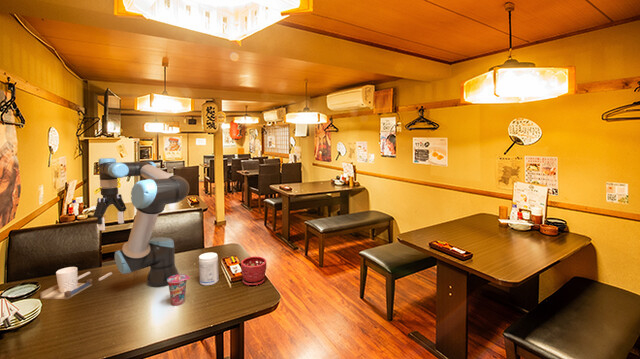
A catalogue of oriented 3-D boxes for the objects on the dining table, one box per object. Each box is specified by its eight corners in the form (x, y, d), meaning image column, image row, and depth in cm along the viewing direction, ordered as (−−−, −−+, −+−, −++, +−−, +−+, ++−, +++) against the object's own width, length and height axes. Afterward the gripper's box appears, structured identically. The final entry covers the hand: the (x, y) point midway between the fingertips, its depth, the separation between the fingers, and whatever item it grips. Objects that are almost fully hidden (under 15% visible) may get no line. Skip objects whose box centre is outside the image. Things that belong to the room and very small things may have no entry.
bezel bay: (92, 284, 148) (92, 279, 147) (68, 299, 134) (67, 292, 134) (68, 284, 148) (67, 278, 148) (40, 298, 134) (40, 291, 134)
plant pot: (236, 285, 149) (235, 263, 148) (251, 275, 161) (251, 254, 160) (257, 290, 144) (257, 267, 143) (271, 279, 156) (271, 258, 155)
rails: (112, 274, 161) (112, 272, 161) (100, 280, 153) (100, 278, 153) (88, 273, 161) (88, 271, 161) (75, 279, 153) (75, 278, 153)
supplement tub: (208, 276, 159) (207, 251, 157) (222, 279, 156) (221, 253, 154) (195, 284, 150) (194, 257, 148) (210, 287, 147) (209, 259, 145)
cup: (168, 309, 126) (166, 283, 125) (168, 300, 134) (166, 276, 132) (191, 304, 130) (190, 279, 129) (190, 296, 138) (189, 272, 137)
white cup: (67, 294, 137) (65, 274, 136) (53, 292, 138) (51, 272, 137) (83, 286, 144) (81, 267, 143) (69, 285, 146) (68, 266, 145)
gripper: (119, 184, 164) (121, 220, 166) (82, 190, 139) (85, 233, 141) (132, 184, 163) (134, 220, 166) (97, 190, 139) (100, 233, 141)
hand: (111, 226), depth 153 cm, fingers open, 13 cm apart
